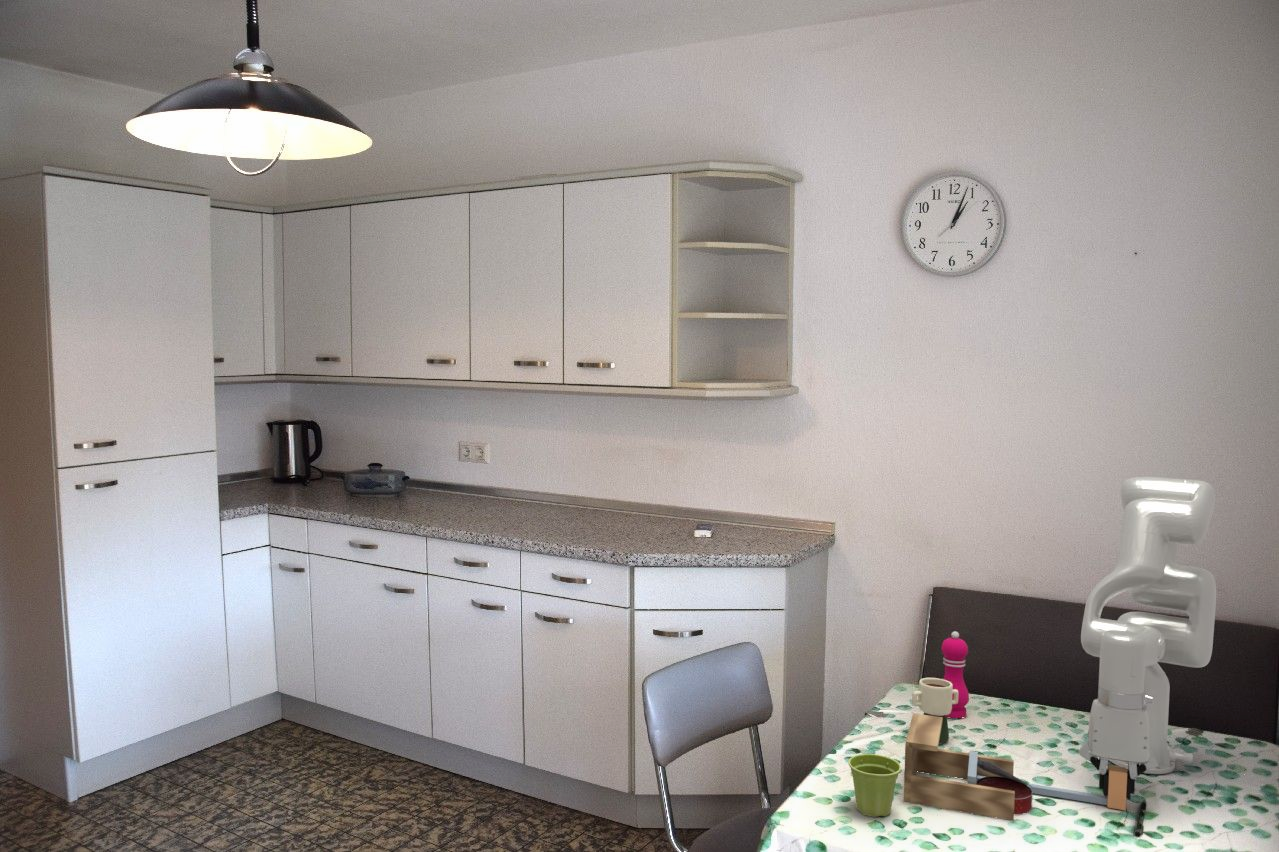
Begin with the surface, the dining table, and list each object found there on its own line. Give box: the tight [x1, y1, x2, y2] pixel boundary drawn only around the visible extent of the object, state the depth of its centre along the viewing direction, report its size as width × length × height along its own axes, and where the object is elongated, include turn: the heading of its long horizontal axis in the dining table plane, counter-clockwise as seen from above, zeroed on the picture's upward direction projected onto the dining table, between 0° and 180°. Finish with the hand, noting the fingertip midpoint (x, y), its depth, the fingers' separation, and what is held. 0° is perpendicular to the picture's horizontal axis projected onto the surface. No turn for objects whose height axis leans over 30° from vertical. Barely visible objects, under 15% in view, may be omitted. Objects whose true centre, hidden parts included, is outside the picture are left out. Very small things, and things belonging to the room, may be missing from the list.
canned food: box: [976, 760, 1034, 815], centre depth 177 cm, size 11×10×10 cm
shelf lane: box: [902, 712, 1015, 822], centre depth 180 cm, size 19×16×12 cm
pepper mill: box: [941, 630, 970, 719], centre depth 223 cm, size 7×7×20 cm
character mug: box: [911, 677, 958, 744], centre depth 207 cm, size 11×7×13 cm, turn 101°
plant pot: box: [847, 753, 902, 818], centre depth 172 cm, size 9×9×9 cm
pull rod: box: [966, 750, 1128, 811], centre depth 175 cm, size 28×14×7 cm, turn 69°
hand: (1116, 794), depth 176 cm, fingers closed on pull rod, 3 cm apart
